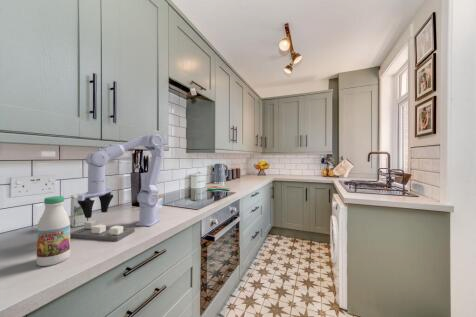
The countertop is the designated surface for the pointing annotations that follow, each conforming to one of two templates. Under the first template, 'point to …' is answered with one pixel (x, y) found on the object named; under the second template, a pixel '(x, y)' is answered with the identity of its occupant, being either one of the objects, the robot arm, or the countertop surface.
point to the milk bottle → (53, 233)
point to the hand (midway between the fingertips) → (96, 214)
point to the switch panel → (101, 234)
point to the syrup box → (77, 213)
